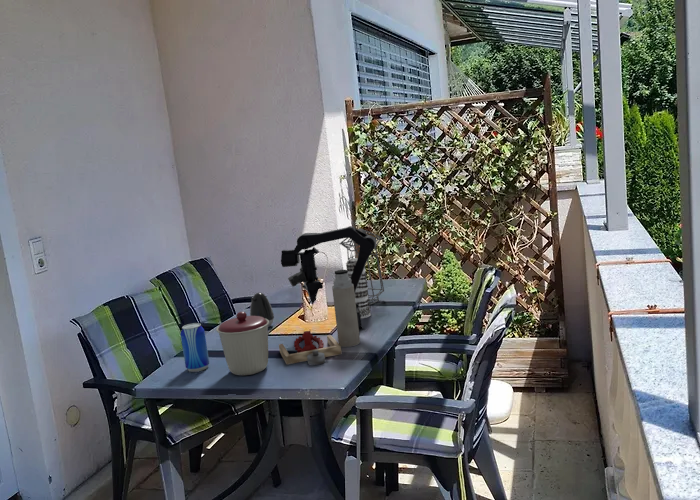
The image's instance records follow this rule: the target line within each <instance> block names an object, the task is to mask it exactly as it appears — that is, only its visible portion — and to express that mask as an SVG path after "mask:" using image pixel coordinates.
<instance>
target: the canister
mask: <svg viewBox="0 0 700 500" xmlns="http://www.w3.org/2000/svg"><path fill="white" fill-rule="evenodd" d="M235 316H236V317H235V318H234V317H233V318H230V319H227V320H225V321H224V322H221V323H220V324H219V325H218V326H217V327H215V330H216V332H217V333H218V335H219V339H220V342H221V346H222V350H223V354H224V357H225V361H226V364H227V367H228V370H229V371H230V372H231V374H233V375H236V376H250V375H255V374H258V373H260V372H263V371H264V370H265V369H266V368H267V366H268V362H269V330H268V329H269V327H268V324H269V320H268V319H265V318H263V317H260V316H250V315H247V312H245V311H238V312H237V313H236V315H235Z"/></svg>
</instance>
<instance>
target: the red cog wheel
mask: <svg viewBox="0 0 700 500" xmlns="http://www.w3.org/2000/svg"><path fill="white" fill-rule="evenodd" d="M323 341H324V340H322V339H321V337H320V336H319V337H318V336H317V335H313V334H311V330H306V331H303V333H302V335H299V336H298V338H297V337H296V338H295V340H294V341H293V342H294V343H293V344H294V345H293V347H294V350H295V351H296V353H299V352H304V351H310V350H315V349H320V348H325V347H324V346H325V345H324V342H323ZM301 342H304V345H303V347H301V345H300V343H301ZM314 342H315V343H317V345H318V346H316V345H314V344H313V343H314Z"/></svg>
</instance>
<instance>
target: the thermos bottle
mask: <svg viewBox="0 0 700 500" xmlns="http://www.w3.org/2000/svg"><path fill="white" fill-rule="evenodd" d="M334 278H335V279H333V280H332V281H333V283H332V288H331V289H332V297H333V304H334V306H333V307H334V314H335V323H336V331H337V340H338V341H337V342H338V343H339V345H340V346H341V348H342V347H343V348H351V347H355V346H358V345H360V343H361V339H360V330H359V328H358V319H357V311H356V302H355V293H354V284H352V283H351V281H352V280H351V278H349V277H348V270H347V269H338V270H335V271H334Z"/></svg>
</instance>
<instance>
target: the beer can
mask: <svg viewBox="0 0 700 500" xmlns="http://www.w3.org/2000/svg"><path fill="white" fill-rule="evenodd" d="M205 333H206V332H205V328H203V326H202V324H201V323H198V322H193V323H188V324H185V325H183V326H182V327H181V332H180V340H181V346H182V352H183V358H184V359H183V360H184V365H185V369H186V370H187V371H188V372H189V373H197V372H201V371H204V370H207V369H208V367H209V365H210V359H209V351H208V345H207V338H206V334H205Z"/></svg>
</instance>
